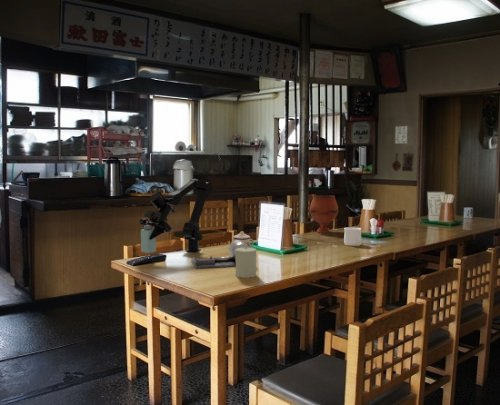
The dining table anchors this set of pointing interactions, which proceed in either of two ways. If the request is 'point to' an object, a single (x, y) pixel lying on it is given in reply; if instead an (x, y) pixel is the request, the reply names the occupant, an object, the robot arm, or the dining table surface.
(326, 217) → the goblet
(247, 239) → the teacup with lid
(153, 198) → the robot arm
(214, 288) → the dining table surface
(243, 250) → the can
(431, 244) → the dining table surface
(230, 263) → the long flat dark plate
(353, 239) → the cup
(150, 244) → the pale teal bottle
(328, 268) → the dining table surface
